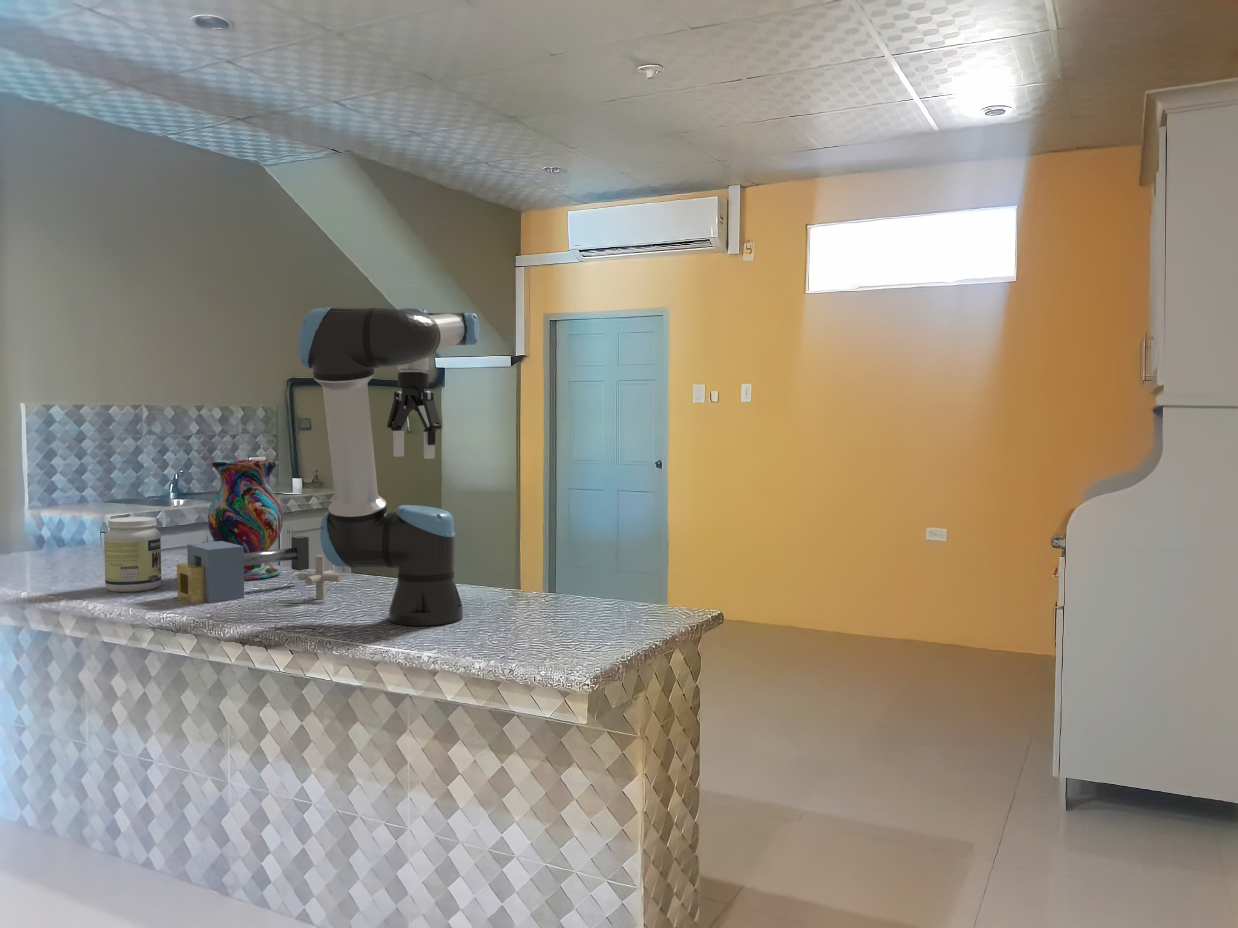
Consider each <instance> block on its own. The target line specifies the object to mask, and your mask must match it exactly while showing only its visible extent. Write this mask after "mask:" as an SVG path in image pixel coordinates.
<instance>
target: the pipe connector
mask: <svg viewBox="0 0 1238 928" xmlns="http://www.w3.org/2000/svg"><path fill="white" fill-rule="evenodd" d="M342 576H343V575H342V574H341V573H335V571H334V570H331V569H329V570H327V571H325V554H324V555H323V554H319V555H318V554H317V555H315V572H307V571H306V572H304V571H303V572H301V571H300V572H299V573H298V575H297V578H298V580H299V581H304V584H305V585H307V586H311V585H314V584H315V600H317V601H320V600H321V601H322V600H324V599H325V582H334V583H335V582H336V583H337V582H338V583H340V582H342V578H343V577H342Z"/></svg>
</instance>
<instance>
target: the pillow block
mask: <svg viewBox="0 0 1238 928" xmlns="http://www.w3.org/2000/svg"><path fill="white" fill-rule="evenodd" d="M186 546H187V554H186V555H187V563H193V564H196V565H200V566H203V567H204V571H205V602H204V603H208V604H211V603H218V602H225V601H233V600H239V599H245V580H244V549H243V546H240V545H236V544H232V543H228V542H224V541H217V542H215V541H208V542H197V543H188V544H187V545H186Z"/></svg>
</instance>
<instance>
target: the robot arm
mask: <svg viewBox="0 0 1238 928" xmlns="http://www.w3.org/2000/svg"><path fill="white" fill-rule="evenodd" d="M480 330H481V328H480V320H479V317H478V315H477V314H476V313H475V312H463V311H462V312H428V311H427V310H426V309H424V308H417V307H416V308H415V307H404V308H403V307H401V308H400V309H398V308H391V307H383V306H382V307H380V306H379V307H350V306H347V307H346V306H345V307H344V306H342V307H341V306H338V307H337V306H329V307H318V308H313V309H311V310H310V311H309V312H308V313H307V314H306V315H305V317H304V318H303V320H302V323H301V325H300V329H299V335H298V345H297V346H298V347H297V348H298V349H297V350H298V357H299V359H300V362H301V364H302V366H303V367H305V368H307V369H312V376H313V380H314V381H316V382H317V383H318V384H319V385H320V386H321V387H322V391H323V401H324V402H323V403H324V409H325V410H324V411H325V420H326V428H327V439H328V447H329V455H330V456H329V457H330V464H331V475H332V484H333V491H334V492H333V493H334V499H333V501H332V502H331V503H330V504H329V506H328V508H327V510H328V511H327V512H326V513H325V514H324V515H323V516H322V519H321V521H320V526H319V527H320V532H319V537H320V539H319V540H320V544H321V547H322V551H323V554H324V557H325V558H326V559H327V561H328V562H330V563H331V564H332V565H334V566H335V567H341V568H342V567H345V568H349V569H358V568H360V569H361V568H362V569H363V568H368V569H371V568H373V569H374V568H375V569H376V568H377V569H378V568H379V569H380V568H381V569H382V568H383V569H397V570H396V571H397V583H396V586H395V590H394V593H393V596H392V599H391V603H390V606H389V608H388V612H389V613H388V620H389V621H390V622H391V623H394V624H397V625H402V626H414V627H415V626H417V627H419V626H420V627H421V626H422V627H425V626H427V627H428V626H438V625H447V624H450V623H455V622H458V621H460V620H461V619H463V616H464V606H463V604H462V600H461V597H460V595H459V591H458V587H457V585H456V581H455V536H456V532H455V525H454V523H455V521H454V517H453V515H452V514H451V513H450V512H449V511H447V510H445V509H442V508H437V507H432V506H425V505H413V504H412V505H411V504H403V505H399V506H397V508H396V510H395V512H394V511H388V507H387V501H386V500H385V498H383V497H382V496H380V495H379V492H378V483H377V482H378V480H377V471H376V461H375V451H374V449H375V447H374V440H373V428H372V419H371V418H372V417H371V409H370V397H369V387H368V386H369V385H368V383H369V382H370V381H371V380H372V378H373V377H374V376H375V369H379V368H380V369H381V368H385V369H386V368H393V367H396V368H397V370H398V371H399V372H398V373H397V387H398V388H401V391H393V402H392V404H391V405H392V406H391V409H390V412H389V413H390V414H389V417H388V420H387V425H386V426H387V428H388V429H391V431H392V444H393V445H392V448H393V449H392V450H393V451H392V452H393V454H392V455H393V457H399V458H400V457H405V428H404V425H405V423H406V420H407V419H408V417H409V415H410V412H411V411H413V410H414V411H415V412H417V414H418V417H419V418H420V421H421V423H422V425H423V427H424V429H423V459H425V460H428V459H431V460H432V459H436V432H437V430H441V429H442V423H441V421H440V417H439V414H438V410H437V407H436V404H435V400H434V397H435V396H434V391H431V390H425V389H427V388H429V386H430V383H429V382H430V381H429V380H430V379H429V378H430V377H429V376H430V375H429V373H428V371H429V358H430V357H431V356H433V355H434V354H435V352H437V351H438V350H442V349H446V348H450V347H453V346H472V345H477V343H478V342H479V339H480V332H481V331H480Z"/></svg>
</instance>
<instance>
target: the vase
mask: <svg viewBox="0 0 1238 928" xmlns="http://www.w3.org/2000/svg"><path fill="white" fill-rule="evenodd" d="M279 462H280V461H278V460H274V459H273V460H272V459H228V460H227V459H226V460H215V461H211V462H210V465H211V466H212V467H213V468H214V469H215V470H216V471H217V473H218V475H219V476H220V487H219V489H218V491H216V492H217V493H216V495H215V496H214V498H213V500H212V501H211V504H210V505H209V507H208V514H207V524H208V530H209V533H210V536H211V538H212V539H213V540H214V542H217V541H224V542H228V543H232V544H236V545H240V546H243V549H244V553H248V552H258V551H267V550H270V548H271V547H272V546H273V545H274V544H275V543H276V541H277V540H278V538H279V536H280V535H281V533H282V529H283V525H284V511H283V507H282V504H281V502H280V500H279V498H278V496H277V495H276V493H275V492H274V490H273V489H272V488H273V487H272V486H271V485H270V484H271V483H270V480H271V479H270V478H271V475H272V473H273V471H274V469H275V468H276V467H277V466H278V465H279V464H280V463H279ZM281 573H282V572H281V571H280V569H279V568H277V567H276V566H274V565H272V564H270V563H263V564H254V565H246V566H244V581H245V580H249V581H250V580H257V579H266V578H267V579H268V578H270V577H271V578H272V577H274V576H278V575H280V574H281Z"/></svg>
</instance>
